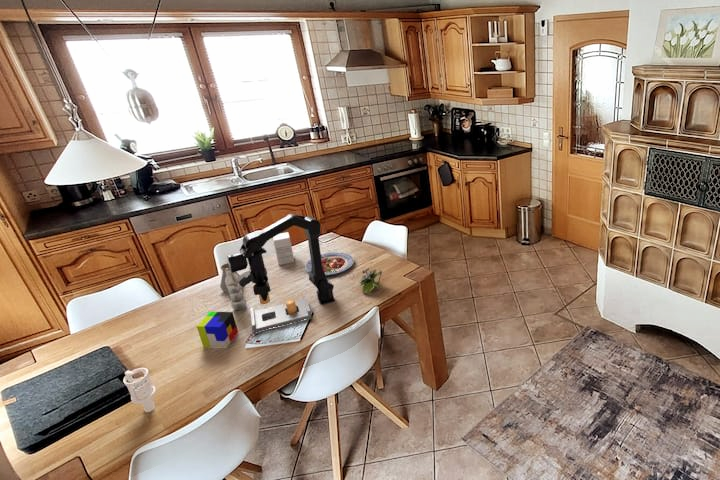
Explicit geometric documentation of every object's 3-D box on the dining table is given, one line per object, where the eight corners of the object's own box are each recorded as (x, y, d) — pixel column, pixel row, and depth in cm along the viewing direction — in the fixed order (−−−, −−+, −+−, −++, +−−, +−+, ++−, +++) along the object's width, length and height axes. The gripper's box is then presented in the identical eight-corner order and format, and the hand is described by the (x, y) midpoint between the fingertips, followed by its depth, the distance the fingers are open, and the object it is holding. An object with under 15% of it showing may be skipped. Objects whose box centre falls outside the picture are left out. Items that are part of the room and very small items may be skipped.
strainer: (149, 398, 134) (134, 363, 128) (166, 401, 132) (151, 366, 126) (132, 415, 128) (116, 379, 122) (150, 418, 126) (134, 382, 120)
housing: (306, 302, 180) (304, 294, 178) (311, 318, 167) (310, 310, 166) (252, 315, 174) (250, 308, 173) (254, 333, 162) (251, 325, 160)
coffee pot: (230, 297, 192) (223, 269, 186) (216, 291, 198) (209, 264, 192) (264, 277, 207) (258, 251, 201) (250, 272, 213) (244, 247, 207)
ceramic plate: (312, 256, 224) (311, 251, 223) (357, 254, 220) (356, 249, 219) (300, 279, 201) (299, 274, 200) (350, 277, 197) (349, 272, 196)
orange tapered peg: (296, 310, 174) (294, 299, 172) (298, 315, 171) (295, 303, 168) (287, 313, 173) (285, 301, 171) (288, 318, 170) (286, 306, 167)
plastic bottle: (250, 305, 183) (240, 266, 175) (240, 313, 177) (230, 273, 169) (239, 303, 185) (229, 265, 177) (229, 311, 180) (218, 272, 172)
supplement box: (277, 258, 226) (272, 234, 220) (293, 255, 228) (288, 231, 222) (278, 265, 218) (273, 240, 212) (294, 262, 219) (289, 237, 213)
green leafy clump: (368, 295, 190) (371, 270, 192) (386, 297, 183) (389, 271, 185) (353, 292, 182) (356, 266, 184) (371, 294, 175) (375, 267, 177)
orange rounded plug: (269, 297, 168) (266, 285, 166) (270, 302, 165) (267, 290, 162) (260, 300, 167) (257, 287, 165) (260, 304, 164) (257, 292, 161)
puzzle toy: (226, 348, 155) (219, 327, 151) (203, 347, 157) (196, 326, 153) (238, 332, 164) (232, 312, 160) (216, 331, 166) (210, 311, 162)
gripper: (235, 260, 166) (244, 292, 172) (236, 279, 149) (245, 314, 155) (262, 254, 168) (270, 286, 174) (266, 273, 151) (274, 307, 158)
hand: (264, 298), depth 165 cm, fingers closed on orange rounded plug, 4 cm apart
